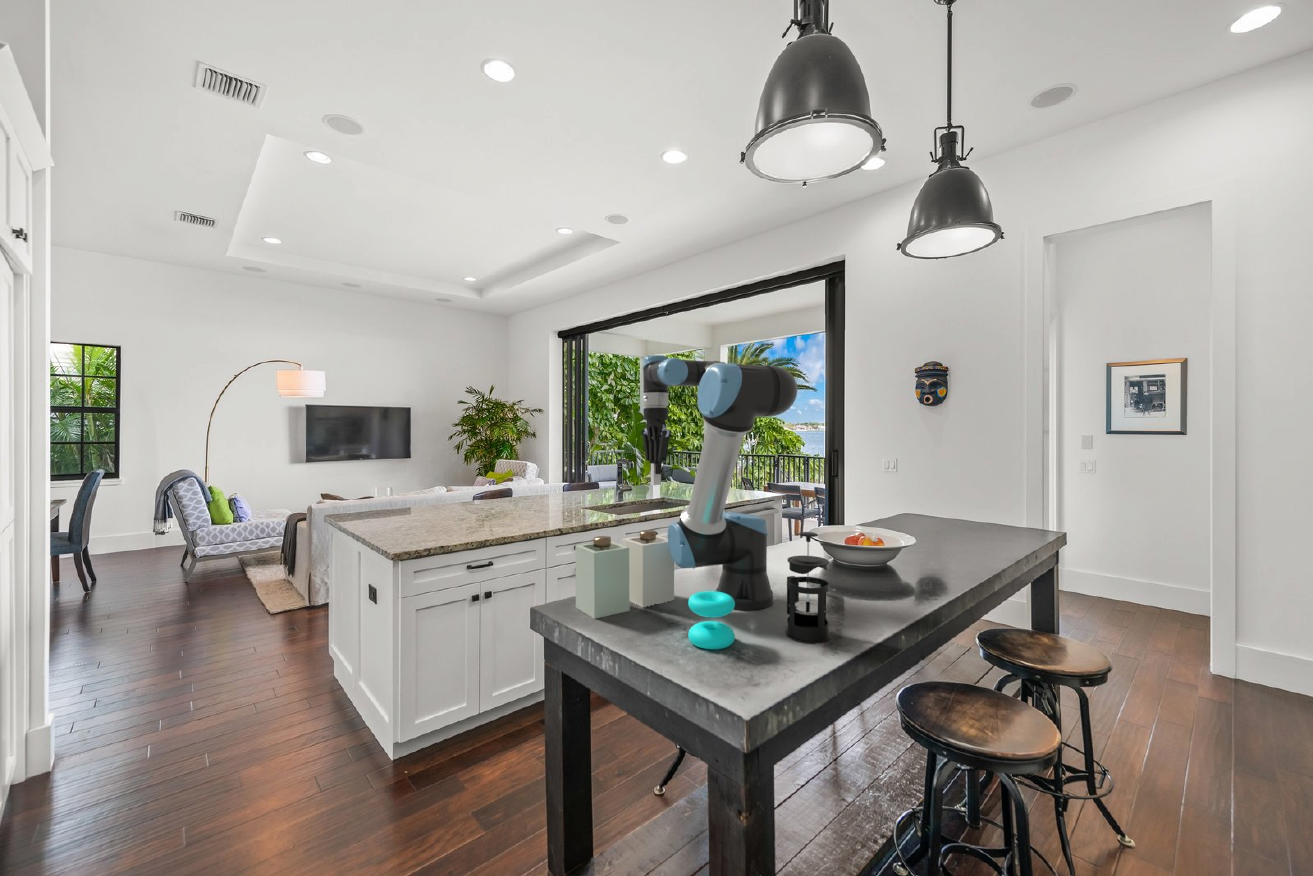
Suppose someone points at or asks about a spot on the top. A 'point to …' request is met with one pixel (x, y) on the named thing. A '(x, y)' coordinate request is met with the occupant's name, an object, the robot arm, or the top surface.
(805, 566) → the french press
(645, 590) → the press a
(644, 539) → the plunger
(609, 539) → the plunger
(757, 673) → the top surface
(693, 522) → the robot arm
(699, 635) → the donuts
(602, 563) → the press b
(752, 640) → the top surface
